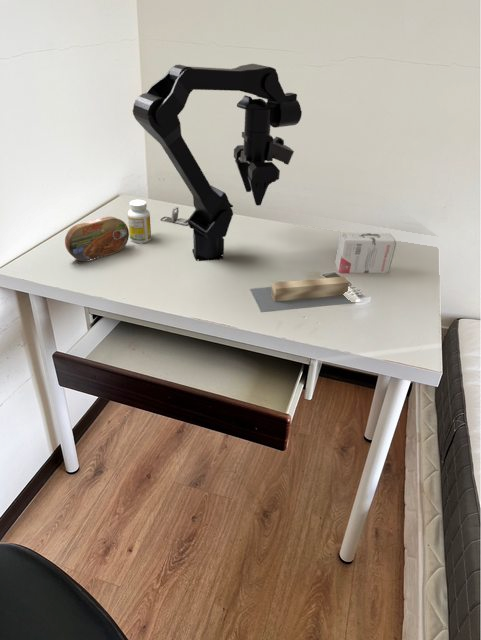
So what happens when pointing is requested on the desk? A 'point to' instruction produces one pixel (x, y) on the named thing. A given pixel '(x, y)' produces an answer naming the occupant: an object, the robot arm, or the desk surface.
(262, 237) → the desk surface
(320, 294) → the beech stick
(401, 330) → the desk surface
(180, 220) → the strap clip
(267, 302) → the tool mat
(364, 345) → the desk surface
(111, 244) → the tin
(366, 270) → the ink box
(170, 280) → the desk surface
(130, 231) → the supplement bottle
